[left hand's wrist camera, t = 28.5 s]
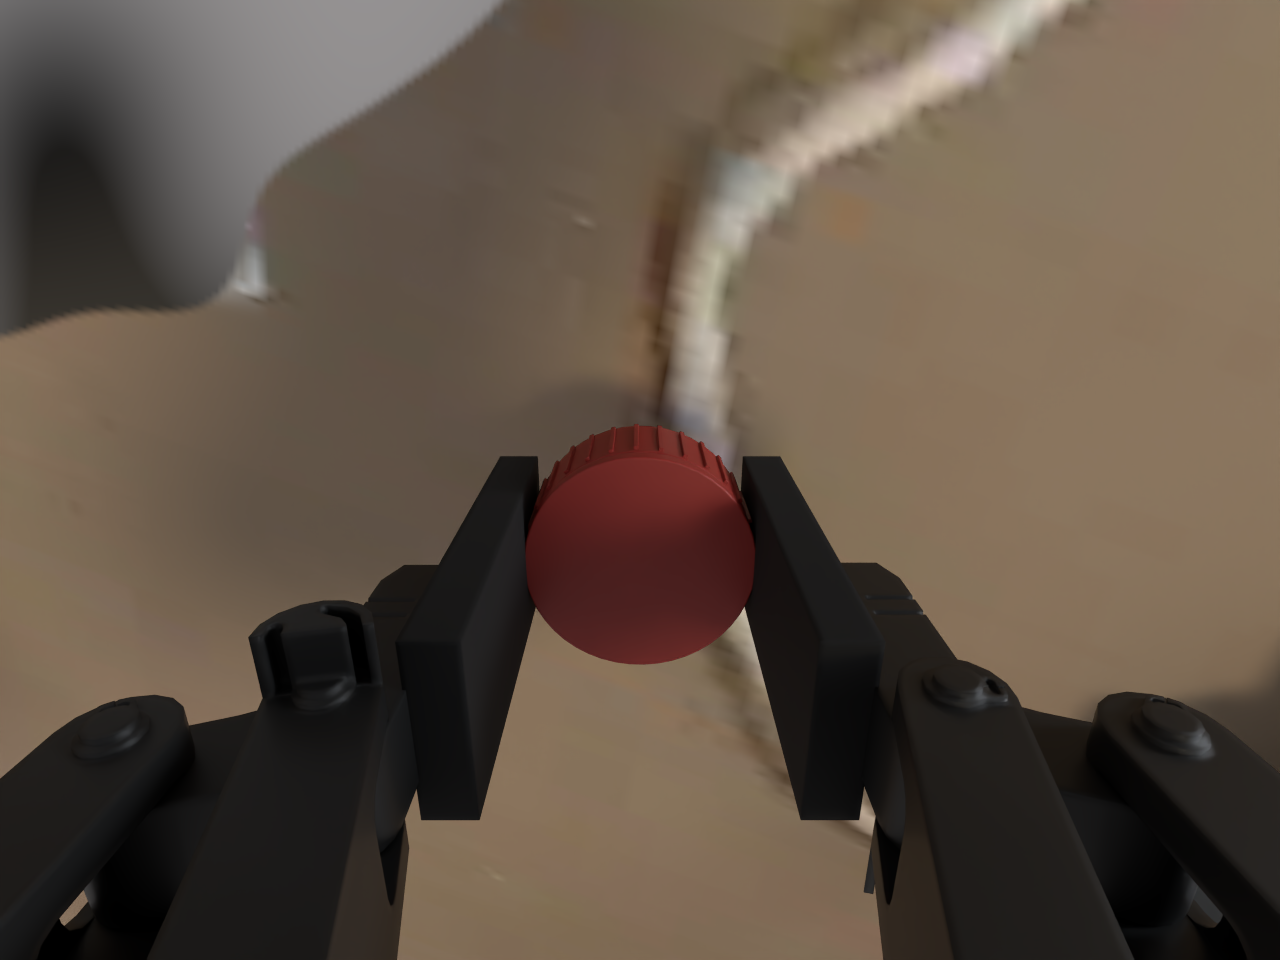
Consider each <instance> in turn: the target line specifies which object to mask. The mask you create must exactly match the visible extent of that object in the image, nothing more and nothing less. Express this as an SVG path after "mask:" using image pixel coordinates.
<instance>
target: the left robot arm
mask: <svg viewBox="0 0 1280 960" xmlns="http://www.w3.org/2000/svg"><path fill="white" fill-rule="evenodd" d="M741 491H742V494H743V497H744V500H745V503H746V505H747V508H748V511H749V514H750V516H751V519H752V523H749V524H750V527H751V530H752V533H753V536H754V541H755V562H754V577H753V588H752V591H751V594H750V596H749V598H748V601H747V603H746V605H745V610H746V614H747V618H748V621H749V625H750V629H751V633H752V637H753V640H754V644H755V648H756V652H757V656H758V659H759V663H760V667H761V671H762V674H763V678H764V682H765V686H766V690H767V693H768V697H769V701H770V705H771V709H772V712H773V716H774V720H775V724H776V728H777V731H778V735H779V739H780V743H781V747H782V750H783V754H784V758H785V762H786V766H787V769H788V773H789V777H790V781H791V785H792V788H793V792H794V796H795V800H796V804H797V807H798V811H799V815H800V819H801V820H859V818H860V811H861V804H862V797H863V791H864V787H865V789H866V792H867V794H868V797H869V800H870V802H871V805H872V807H873V810H874V812H875V815H876V817H875V824H874V830H873V836H872V842H871V849H870V855H869V861H868V868H867V874H866V880H865V887H864V892H865V893H870V894H873V891H874V886H875V889H876V898H877V907H878V916H879V925H880V934H881V943H882V952H883V960H1280V773H1279V772H1277V771H1276V770H1275V769H1274V768H1273V767H1271V766H1270V765H1269V764H1268V763H1267V762H1266V761H1264V760H1263V759H1262V758H1261V757H1260V756H1259V755H1257V754H1256V753H1255V752H1254V751H1253V750H1251V749H1250V748H1249V747H1248V746H1247V745H1246V744H1244V743H1243V742H1242V741H1241V740H1240V739H1239V738H1237V737H1236V736H1235V735H1234V734H1233V733H1232V732H1230V731H1229V730H1228V729H1226V728H1225V727H1223V726H1222V725H1221V724H1219V723H1218V722H1216V721H1215V720H1213V719H1212V718H1210V717H1209V716H1207V715H1206V714H1204V713H1202V712H1199V711H1197V710H1195V709H1193V708H1191V707H1189V706H1186V705H1185V704H1183V703H1181V702H1179V701H1176V700H1173V699H1170V698H1167V699H1166V698H1164V697H1162V696H1158V695H1153V694H1144V693H1134V692H1123V693H1117V694H1111V695H1108V696H1107V697H1105V698H1104V699H1103V700H1102V701H1100V702H1099V703H1098V706H1097V709H1096V713H1095V716H1094V719H1093V723H1091V722H1086V721H1081V720H1076V719H1071V718H1066V717H1061V716H1057V715H1052V714H1047V713H1042V712H1038V711H1034V710H1031V709H1027V708H1023V707H1021V704H1020V702H1019V700H1018V698H1017V696H1016V695H1015V694H1014V692H1013V691H1012V690H1011V688H1010V687H1009V686H1008V684H1007V683H1006V682H1004V681H1003V680H1001V679H1000V678H999V677H997V676H996V675H994V674H993V673H992V672H990V671H988V670H986V669H984V668H981V667H979V666H977V665H974V664H972V663H970V662H966V661H962V660H957V658H956V657H955V656H954V654H953V653H952V651H951V650H950V648H949V647H948V646H947V644H946V643H945V641H944V640H943V639H942V637H941V636H940V634H939V633H938V631H937V630H936V629H935V627H934V626H933V624H932V623H931V622H930V620H929V619H928V617H927V616H926V615H923V610H922V609H921V607H920V606H919V605H918V603H917V602H916V600H913V599H912V595H911V593H910V592H909V590H908V589H907V588H906V586H905V585H904V583H903V582H902V581H901V579H900V578H899V577H897V576H896V575H894V574H893V573H891V572H890V571H888V570H887V569H885V568H884V567H882V566H881V565H879V564H877V563H840V561H839V559H838V557H837V556H836V554H835V552H834V550H833V549H832V547H831V545H830V543H829V541H828V540H827V538H826V536H825V534H824V533H823V531H822V529H821V527H820V526H819V524H818V522H817V520H816V519H815V517H814V515H813V513H812V512H811V510H810V508H809V506H808V505H807V503H806V501H805V499H804V498H803V496H802V494H801V492H800V491H799V489H798V487H797V485H796V484H795V482H794V480H793V478H792V477H791V475H790V473H789V471H788V470H787V468H786V466H785V464H784V462H783V461H782V459H781V457H780V456H743V463H742V481H741ZM539 492H540V491H539V473H538V456H500V458H499V460H498V462H497V463H496V465H495V467H494V469H493V470H492V472H491V474H490V476H489V477H488V479H487V481H486V483H485V484H484V486H483V488H482V490H481V491H480V493H479V495H478V497H477V498H476V500H475V502H474V504H473V505H472V507H471V509H470V511H469V512H468V514H467V516H466V518H465V520H464V521H463V523H462V525H461V527H460V528H459V530H458V532H457V534H456V535H455V537H454V539H453V541H452V542H451V544H450V546H449V548H448V549H447V551H446V553H445V555H444V556H443V558H442V560H441V562H440V563H439V565H404V566H402V567H401V568H399V569H398V570H396V571H395V572H393V573H392V574H390V575H389V576H387V577H385V578H384V579H382V580H381V581H380V583H379V584H378V585H377V587H376V588H375V590H374V591H373V593H372V594H371V595H370V597H369V598H368V602H366V603H365V604H364V605H362V604H358V603H354V602H349V601H345V600H338V601H319V602H314V603H309V604H303V605H299V606H297V607H294V608H291V609H288V610H286V611H283V612H280V613H278V614H276V615H275V616H273V617H271V618H270V619H268V620H266V621H265V622H263V623H261V624H260V625H259V626H258V627H257V628H256V629H255V630H254V632H253V633H252V634H251V635H250V636H249V637H248V638H249V642H250V646H251V650H252V655H253V659H254V663H255V667H256V672H257V676H258V680H259V684H260V689H261V693H262V697H263V699H262V701H261V703H260V706H259V708H258V710H257V711H254V712H250V713H246V714H243V715H239V716H234V717H229V718H224V719H219V720H214V721H209V722H205V723H200V724H195V725H190V726H189V724H188V721H187V717H186V714H185V710H184V707H183V706H182V705H181V704H180V703H178V702H177V701H176V700H175V699H174V698H170V697H164V696H158V695H148V696H138V697H129V698H124V699H120V700H118V701H112V702H109V703H106V704H103V705H101V706H99V707H97V708H96V709H93V710H91V711H89V712H87V713H85V714H83V715H80V716H78V717H76V718H75V719H73V720H72V721H70V722H69V723H67V724H66V725H64V726H63V727H62V728H60V729H59V730H57V731H56V732H54V733H53V734H52V735H51V736H49V737H48V738H47V739H46V740H45V741H44V742H42V743H41V744H40V745H39V746H38V747H37V748H35V749H34V750H33V751H32V752H31V753H30V754H28V755H27V756H26V757H25V758H24V759H23V760H21V761H20V762H19V763H18V764H17V765H16V766H14V767H13V768H12V769H11V770H10V771H9V772H7V773H6V774H5V775H4V776H3V777H2V778H0V960H397V954H398V945H399V936H400V927H401V918H402V909H403V900H404V890H405V881H406V872H407V863H408V854H409V843H408V836H407V830H406V824H405V817H406V815H407V812H408V810H409V807H410V804H411V802H412V799H413V797H414V794H415V791H416V789H417V794H418V801H419V808H420V814H421V820H480V817H481V813H482V809H483V805H484V802H485V798H486V794H487V790H488V786H489V783H490V779H491V775H492V771H493V767H494V764H495V760H496V756H497V752H498V748H499V745H500V741H501V737H502V733H503V729H504V726H505V722H506V718H507V714H508V710H509V707H510V703H511V699H512V695H513V691H514V688H515V684H516V680H517V676H518V672H519V669H520V665H521V661H522V657H523V653H524V650H525V646H526V642H527V638H528V634H529V631H530V627H531V623H532V619H533V615H534V612H535V608H536V606H535V604H534V602H533V600H532V598H531V596H530V593H529V590H528V584H527V570H526V554H525V542H526V538H527V534H528V531H529V530H528V524H529V521H530V518H531V515H532V513H533V510H534V506H535V503H536V500H537V497H538V495H539ZM1198 886H1199V888H1200V889H1201V890H1202V891H1203V892H1204V893H1205V895H1206V896H1207V897H1208V898H1209V899H1210V900H1211V901H1212V903H1213V904H1214V905H1215V906H1216V907H1217V908H1218V910H1219V911H1220V912H1221V913H1222V914H1223V916H1222V918H1221V921H1220V922H1219V923H1216V922H1214V921H1213V920H1212V919H1211V918H1210V917H1209V916H1208V915H1207V914H1206V913H1205V912H1204V911H1203V910H1202V908H1201V907H1200V906H1199V905H1198V904H1197V902H1196V901H1195V900H1194V896H1195V894H1196V891H1197V889H1198ZM83 890H84V892H85V894H86V897H87V900H88V902H87V903H86V905H85V906H84V907H83V908H82V909H81V911H80V912H79V913H78V914H77V915H76V916H75V917H74V918H73V919H72V920H71V921H70V922H68V923H67V924H66V925H65V926H64V925H62V924H61V921H60V919H59V918H60V917H61V916H62V914H63V913H64V912H65V911H66V910H67V909H68V907H69V906H70V905H71V904H72V903H73V902H74V900H75V899H76V898H77V897H78V896H79V894H80V893H81V892H82V891H83Z"/></svg>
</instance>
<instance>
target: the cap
mask: <svg viewBox="0 0 1280 960" xmlns="http://www.w3.org/2000/svg"><path fill="white" fill-rule="evenodd" d="M749 523H752V519H751V516H750V514H749V511H748V508H747V505H746V503H745V500H744V497H743V494H742V491H739V488H738V486H737V483H736V480H735V477H734V475H733V473H732V472H731V473H729V472H728V470H727V469H726V468H725V466H724V465H723V463H722V460H721V457H720V456H719V455H718V456H715V455H714V454H713V453H712V452H711V451H709V450H708V449H707V448H706V447H705V446H704V443H703V442H701V441H700V443H698V442H697V441H695V440H693V439H692V438H690V437H687V436H685V435H684V432H681V431H680V433H678V432H675V431H671V430H668V429H664V428H662V426H659V425H658V426H657V427H652V426H639V424H634V426H630V427H621V428H617V429H616V428H615V427H612V428H611V430H608V431H606V432H603V433H600V434H597V435H595V436H594V434H592V435H590V436H589V439H587V440H585V441H583V442H582V443H580V444H579V445H578V446H576V447H575V446H572V447H571V448H570V451H569V453H568V454H567V455H565V456H564V457H563V458H562V459H561V461H560V462H559V461H558V460H557V461H556V462H555V464H554V467H553V470H552V473H551V474H550V476H549V478H548V479H546V478H545V479H544V481H543V483H542V486H541V489H540V492H539V495H538V497H537V500H536V503H535V506H534V510H533V513H532V515H531V518H530V521H529V524H528V530H529V531H528V534H527V538H526V542H525V554H526V570H527V584H528V590H529V593H530V596H531V598H532V600H533V602H534V604H535V606H536V608H537V609H538V611H539V612H540V614H541V615H542V617H543V618H544V620H545V621H546V622H547V623H548V624H549V625H550V627H551V628H552V629H553V630H554V631H555V632H556V633H557V634H559V635H560V636H561V637H562V638H563V639H564V640H566V641H567V642H569V643H570V644H572V645H573V646H575V647H576V648H578V649H580V650H582V651H584V652H586V653H588V654H591V655H593V656H596V657H598V658H601V659H605V660H609V661H613V662H618V663H625V664H656V663H662V662H667V661H672V660H676V659H679V658H682V657H685V656H688V655H690V654H692V653H694V652H696V651H699V650H700V649H702V648H704V647H705V646H707V645H709V644H710V643H712V642H713V641H714V640H716V639H717V638H718V637H720V636H721V635H722V634H723V633H724V632H725V631H726V630H727V629H728V628H729V627H730V626H731V625H732V624H733V623H734V621H735V620H736V619H737V617H738V616H739V615H740V613H741V612H742V610H743V608H744V606H745V605H746V603H747V601H748V598H749V596H750V594H751V591H752V588H753V577H754V562H755V541H754V536H753V533H752V530H751V527H750V524H749Z"/></svg>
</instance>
